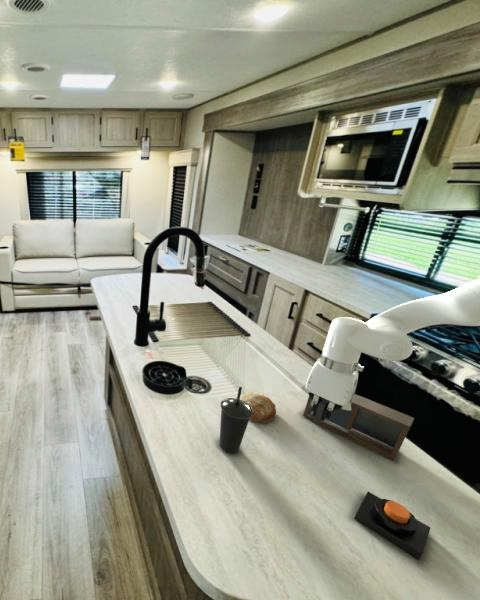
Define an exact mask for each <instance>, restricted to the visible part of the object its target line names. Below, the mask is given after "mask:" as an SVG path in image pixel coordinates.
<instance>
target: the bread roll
mask: <svg viewBox="0 0 480 600" xmlns="http://www.w3.org/2000/svg"><path fill="white" fill-rule="evenodd" d="M240 400H242V401H244V402H246V403H247V404H248V405H249V406H250V407H251V408H252V410H253V414H252V416H251V417H250V419H249V420H251V421H252V422H256V423H263V424H264V423H268V422H272V421H273V419H275V417H276V415H277V408H276V404H275V403H274V402H273V400H271V399H270V398H269V397H268V396H265V395H264V394H258V393H255V392H247V393H245V394H244V395H243V396H242V397H241V398H240Z"/></svg>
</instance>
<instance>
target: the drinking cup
mask: <svg viewBox="0 0 480 600" xmlns="http://www.w3.org/2000/svg"><path fill="white" fill-rule="evenodd" d="M242 390H243V387H242V386H238V390H237V396H236V398H235V397H226V398H224V399H222V400H221V402H220V408H221V409H220V427H219V448H220V449H221V450H222V451H224V452H225V453H227V454H232V455H233V454H236V453H238V452H239V450H240V447H241V445H242V442H243V439H244V436H245V433H246V430H247V429H248V428H247V427H248V425H249V423H250V420H251V419H250V417H251V416H252V414H253V410H252V408H251V407H250V406H249V405H248V404H247V403H246V402H244V401H242V400H241V395H242Z"/></svg>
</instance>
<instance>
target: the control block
mask: <svg viewBox="0 0 480 600" xmlns="http://www.w3.org/2000/svg"><path fill="white" fill-rule="evenodd" d="M388 501H393V502H395V501H394V500H390V499H388V498H381V497H379V496H377V495H375V494H374V493H372V492H370V491H367V492H366V494H365V496H364V497H363V500H362V502H361V503H360V505H359V507H358V509H357V511H356V513H355V515H354V518H353V519H354V520H355V521H357V522H358V523H359V524H361V525H362V526H365V527H366V528H367V529H368V530H370V531H372V532H374V533H375V534H377V535H378V536H379V537H381V538H383V539H384V540H386V541H387V542H389V543H390V544H392V545H394V546H395V547H397V548H398V549H400V550H401V551H403V552H404V553H406V554H407V555H409V556H411V557H412V558H413V559H415V560H416V561H420V560H421V558H422V555H423V554H424V552H425V548H426V544H427V541H428V538H429V534H430V532H431V528H432V527H431V526H429V525H428V524H426V523H424V522H422V521H421V520H418V519H417V518H416V517H415V515H414V514H413V513H411V512H410V511H409V513H410V518H409V520H408V522H407V523H405V524H401V523H398V522H396V521H394V520H393V519H391V518H389V517H388V516H387V515H386V514H385V512H384V507H385V505H386V503H387V502H388Z"/></svg>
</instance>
